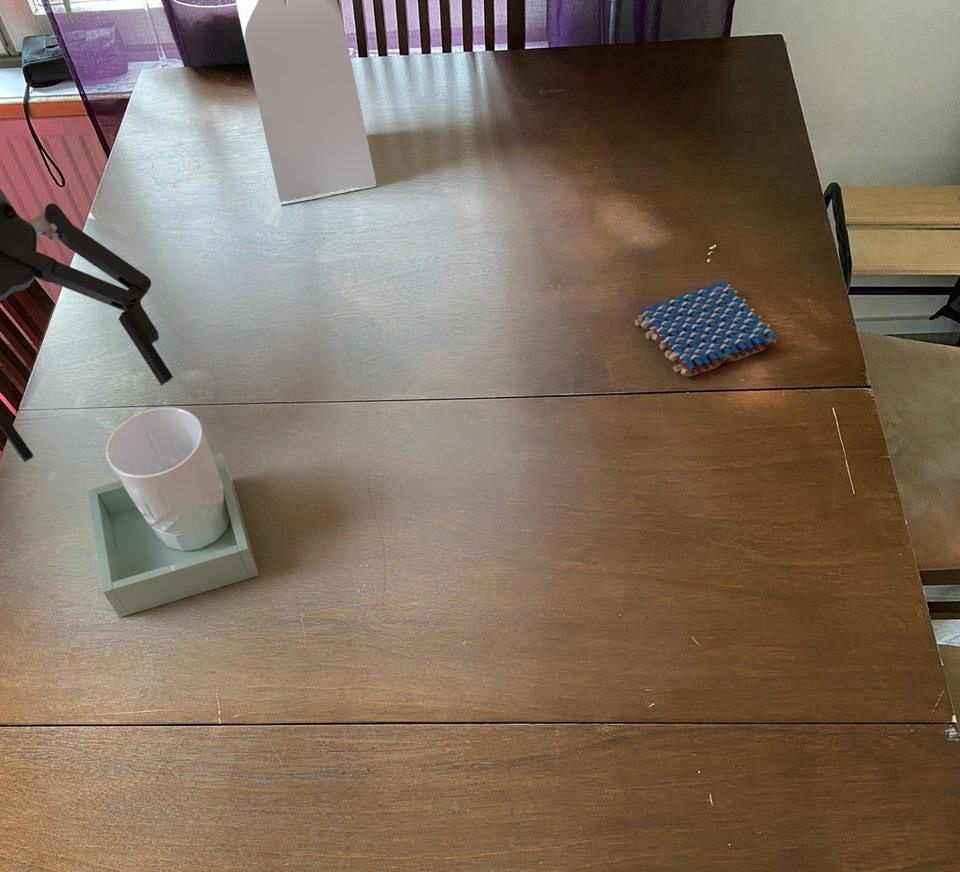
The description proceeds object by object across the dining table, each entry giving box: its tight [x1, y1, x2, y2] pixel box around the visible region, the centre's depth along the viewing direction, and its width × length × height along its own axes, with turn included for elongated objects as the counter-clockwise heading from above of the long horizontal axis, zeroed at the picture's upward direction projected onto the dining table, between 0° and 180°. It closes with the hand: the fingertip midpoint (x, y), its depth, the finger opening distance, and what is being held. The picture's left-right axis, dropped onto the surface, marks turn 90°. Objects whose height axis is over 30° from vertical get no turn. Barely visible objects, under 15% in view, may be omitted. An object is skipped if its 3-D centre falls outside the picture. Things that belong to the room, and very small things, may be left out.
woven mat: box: [634, 281, 777, 378], centre depth 98 cm, size 10×11×2 cm
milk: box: [235, 0, 377, 203], centre depth 110 cm, size 12×12×26 cm
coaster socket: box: [87, 451, 260, 618], centre depth 87 cm, size 12×12×4 cm
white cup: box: [105, 406, 230, 551], centre depth 85 cm, size 8×8×10 cm
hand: (100, 419), depth 87 cm, fingers open, 13 cm apart
